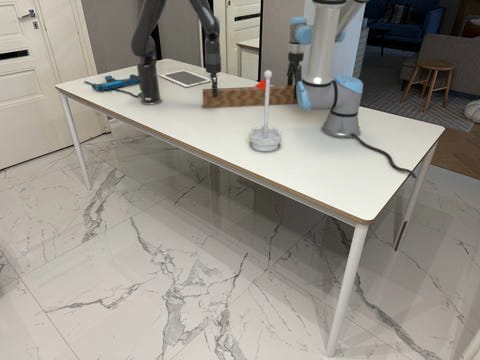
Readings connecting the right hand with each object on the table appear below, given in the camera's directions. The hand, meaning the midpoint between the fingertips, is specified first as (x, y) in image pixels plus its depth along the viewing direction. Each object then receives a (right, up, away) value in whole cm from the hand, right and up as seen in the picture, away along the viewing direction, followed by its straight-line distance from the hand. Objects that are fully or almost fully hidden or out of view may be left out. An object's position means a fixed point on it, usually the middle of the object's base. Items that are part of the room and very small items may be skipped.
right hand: (292, 94), depth 178 cm
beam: (-21, -5, 0) cm, 22 cm away
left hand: (-41, -1, -5) cm, 41 cm away
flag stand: (-17, -31, -39) cm, 53 cm away
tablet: (-62, +20, +39) cm, 76 cm away
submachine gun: (-101, +15, +31) cm, 107 cm away
